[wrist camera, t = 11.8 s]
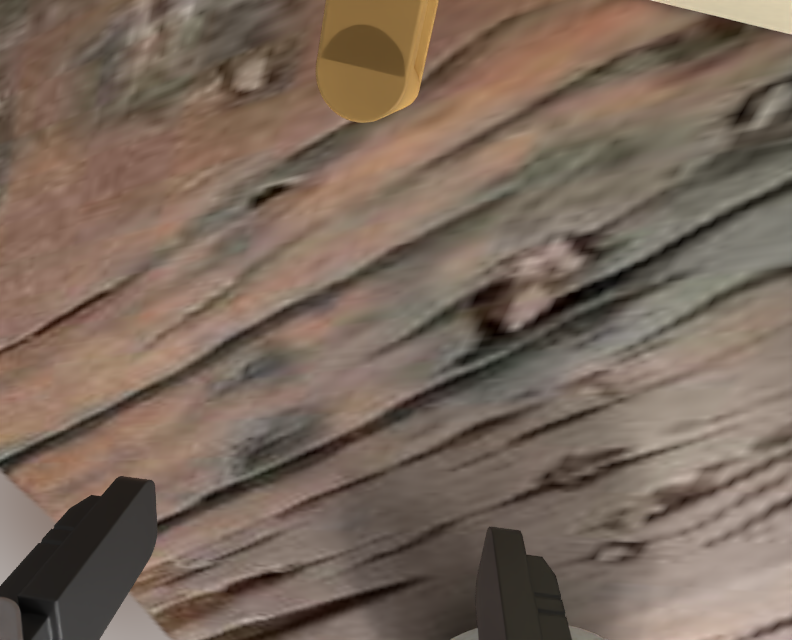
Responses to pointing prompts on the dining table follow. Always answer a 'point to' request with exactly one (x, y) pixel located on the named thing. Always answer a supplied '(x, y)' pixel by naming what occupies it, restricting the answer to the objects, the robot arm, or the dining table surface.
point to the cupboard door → (409, 40)
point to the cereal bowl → (579, 636)
